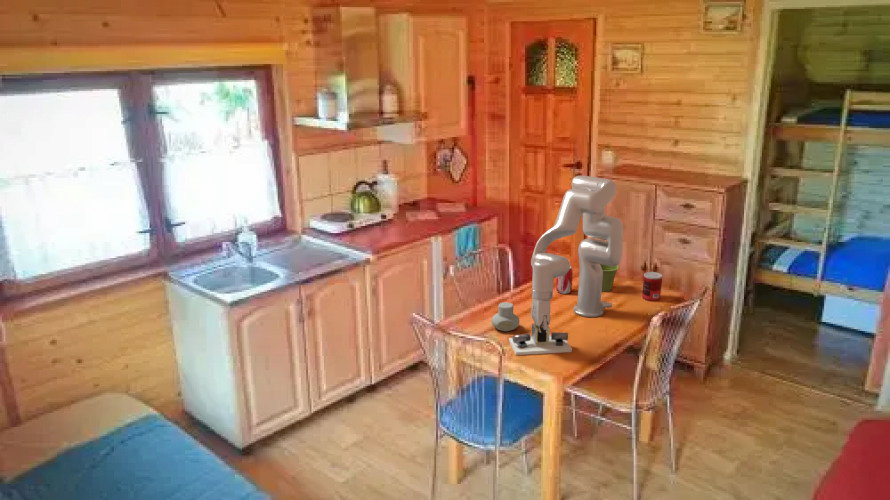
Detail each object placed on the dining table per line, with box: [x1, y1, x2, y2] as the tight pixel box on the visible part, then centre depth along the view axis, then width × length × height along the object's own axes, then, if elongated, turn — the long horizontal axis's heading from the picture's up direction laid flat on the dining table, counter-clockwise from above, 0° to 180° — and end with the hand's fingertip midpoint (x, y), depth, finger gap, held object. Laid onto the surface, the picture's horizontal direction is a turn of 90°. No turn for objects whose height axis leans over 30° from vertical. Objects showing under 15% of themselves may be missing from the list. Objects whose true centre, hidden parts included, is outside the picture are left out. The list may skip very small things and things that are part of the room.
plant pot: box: [600, 264, 620, 293], centre depth 304 cm, size 12×12×11 cm
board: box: [508, 335, 573, 356], centre depth 251 cm, size 21×12×1 cm, turn 97°
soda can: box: [555, 265, 574, 295], centre depth 301 cm, size 7×7×12 cm
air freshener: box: [491, 301, 520, 332], centre depth 265 cm, size 11×8×10 cm
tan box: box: [531, 322, 551, 342], centre depth 249 cm, size 6×4×6 cm
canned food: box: [641, 271, 663, 302], centre depth 294 cm, size 8×8×11 cm
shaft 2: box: [550, 331, 569, 346], centre depth 250 cm, size 6×4×4 cm
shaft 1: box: [512, 332, 532, 348], centre depth 248 cm, size 6×4×4 cm
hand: (540, 338), depth 250 cm, fingers closed on tan box, 4 cm apart
